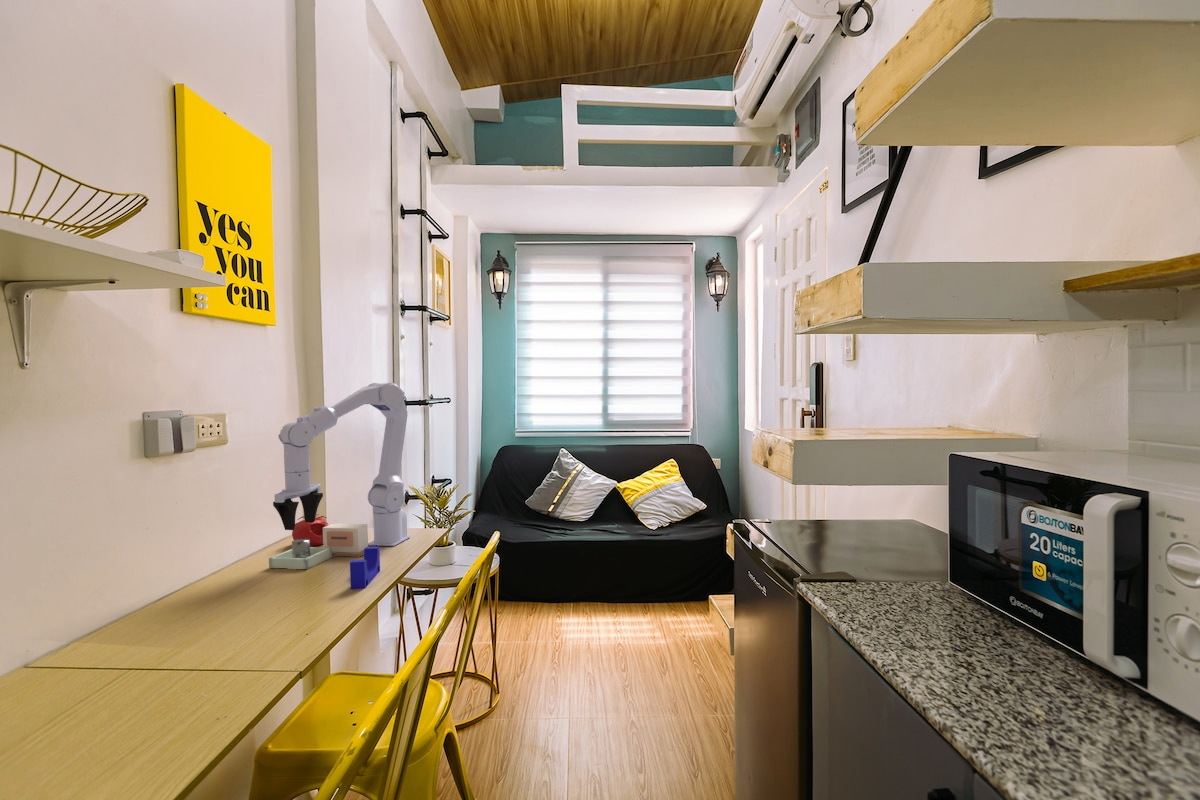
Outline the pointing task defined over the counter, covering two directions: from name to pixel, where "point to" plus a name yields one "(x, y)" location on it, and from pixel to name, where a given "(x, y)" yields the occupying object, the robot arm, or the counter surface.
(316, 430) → the robot arm
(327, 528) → the mounted housing
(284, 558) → the parts tray
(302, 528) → the pomegranate
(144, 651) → the counter surface
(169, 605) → the counter surface
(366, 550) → the blue cradle block
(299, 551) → the coupling
